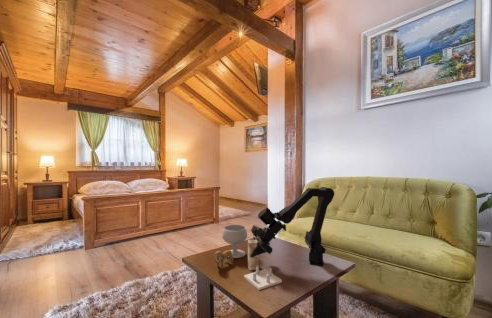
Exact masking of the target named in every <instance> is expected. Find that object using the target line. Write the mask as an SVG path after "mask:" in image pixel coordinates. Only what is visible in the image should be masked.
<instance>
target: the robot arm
mask: <svg viewBox="0 0 492 318" xmlns="http://www.w3.org/2000/svg"><path fill="white" fill-rule="evenodd" d="M313 197H317V202H318V203H317V206H316V212H315V214H314V218H313V222H312V225H311V229H310V230H309V231H307V230H306V232H305V236H304V243H305V244H306V245H307V246H308V248H309V250H310V251H309V252H308V262H309V264H310V265H316V266H322V267H323V266H324V254H325V252H326V248H325V247H324V246H323V245H322V234H321V232H322V228H323V225H324V221H325V217H326V214H327V209H328V206H329V205H330V204H331V202H332V201H333V199H334V197H335V191H334V189H332V188H331V187H327V186H321V187H315V188H314V187H313V188H312V187H308V188H306V189H305V191H304V192H303V193H302V194H301V195H299V196H298V197H297V198H296V199H295V200H294V201H293V202H292V203H291V204H290V205H288V206H286V207H284V208H282V209H281V210H279V211H277V212H273V211H271V209H270V208H269V207H265V208H264V209H262V210H261V211H259V213H258V214H257V218H258V219H259V220H260V221H261V222H263V224H264V225H265V226H267V225H268V226H267V227H263V228H262V227H260V226H257V225H256V224H255V225H254V224H253V225H252V226H251V227H252V228H251V229H250V232H251V234H252V235H253V239H252V240H257V241H258V242H257V247H256V248H255V250H254V251H253V253H252V254H251V257H255V256H257V255H263V254H266V253H268V254H269V255H271V254H272V253H273V248H272V246H271V243H270V242H271V241H273V239H274V240H275V239H276V238H277V237H276V236H277V235H278V234H279V232H280V231H281V230H283V231H287V225H288V224H290V223H291V222H292V221H293V219H294V218H295V217H296V214H297V213H298V211H299V210H301V209H302V208H303V207H304V206H305V205H306V204H307V203H308V202H309V201H310V200H311V199H312V198H313ZM286 224H287V225H286Z"/></svg>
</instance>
